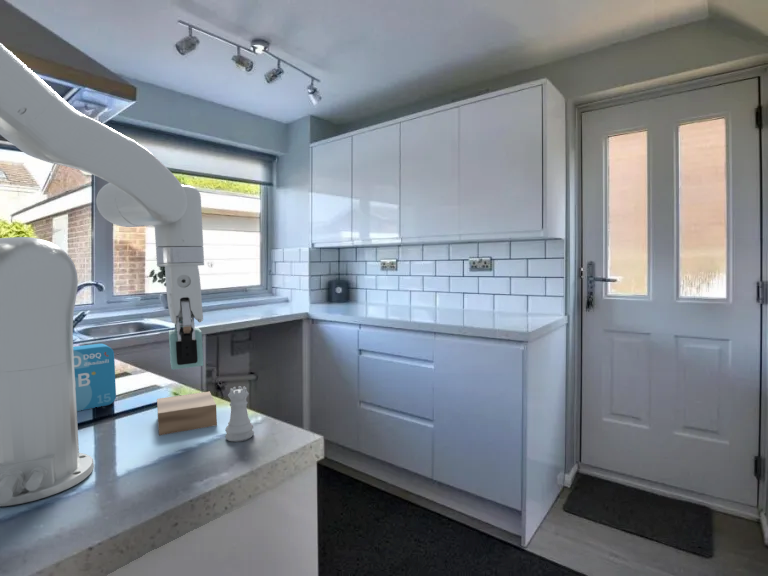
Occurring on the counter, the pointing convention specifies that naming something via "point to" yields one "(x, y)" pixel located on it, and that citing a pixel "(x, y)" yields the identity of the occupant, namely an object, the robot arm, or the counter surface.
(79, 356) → the blue flat box
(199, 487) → the counter surface
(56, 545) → the counter surface
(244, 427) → the rook chess piece
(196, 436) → the counter surface
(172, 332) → the teal block
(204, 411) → the walnut block
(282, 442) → the counter surface
